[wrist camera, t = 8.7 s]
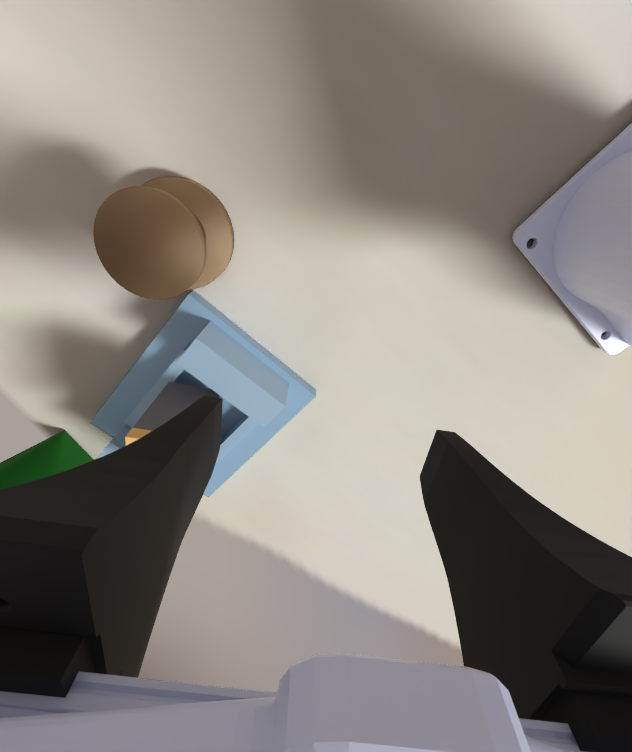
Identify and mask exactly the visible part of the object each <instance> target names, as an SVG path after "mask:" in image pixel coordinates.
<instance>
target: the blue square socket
mask: <svg viewBox="0 0 632 752" xmlns="http://www.w3.org/2000/svg"><path fill="white" fill-rule="evenodd" d="M168 382H174V383H180V384H186V385H192V386H198V387H204V388H210V389H212V390H213V391H214V392H216V393H217V394H219V395H220V396H221V397H222V398H223V404H222V422H221V440H220V450H219V454H218V457H217V460H216V464H215V467H214V470H213V473H212V476H211V478H210V480H209V482H208V485H207V487H206V489H205V491H204V493H203V494H204V495H205V496H207V497H209V496H210V495H211V494H213V493H214V492H215V491H216V490H217V489H218V488H219V487H220V486H221V485H222V484H223V483H224V482H225V481H226V480H227V479H228V478H230V477H231V476H232V475H233V474H234V473H235V472H236V471H237V470H238V469H239V468H240V467H241V466H242V465H243V464H244V463H245V462H247V461H248V460H249V459H250V458H251V457H252V456H253V455H254V454H255V453H256V452H257V451H258V450H259V449H260V448H261V447H262V446H264V445H265V444H266V443H267V442H268V441H269V440H270V439H271V438H272V437H273V436H274V435H275V434H276V433H277V432H278V431H279V430H281V429H282V428H283V427H284V426H285V425H286V424H287V423H288V422H289V421H290V420H291V419H292V418H293V417H294V416H295V415H296V414H298V413H299V412H300V411H301V410H302V409H303V408H304V407H305V406H306V405H307V404H308V403H309V402H310V401H311V400H312V399H313V398H315V397H316V390H315V389H314V388H313V387H312V386H311V385H309V384H308V383H307V382H306V381H304V380H303V379H302V378H301V377H299V376H298V375H297V374H296V373H295V372H293V371H292V370H291V369H290V368H288V367H287V366H286V365H285V364H283V363H282V362H281V361H280V360H279V359H277V358H276V357H275V356H274V355H272V354H271V353H270V352H269V351H267V350H266V349H265V348H264V347H263V346H261V345H260V344H259V343H258V342H256V341H255V340H254V339H253V338H251V337H250V336H249V335H248V334H247V333H245V332H244V331H243V330H242V329H240V328H239V327H238V326H237V325H235V324H234V323H233V322H232V321H231V320H229V319H228V318H227V317H226V316H224V315H223V314H222V313H221V312H219V311H218V310H217V309H216V308H215V307H213V306H212V305H211V304H210V303H208V302H207V301H206V300H205V299H203V298H202V297H201V296H200V295H199V294H197V293H196V292H195V291H194V290H193V291H192V292H191V293H189V294H188V296H187V297H186V298H185V300H184V301H183V302H182V303H181V305H180V306H179V307H178V309H177V310H176V311H175V313H174V314H173V315H172V316H171V318H170V319H169V320H168V322H167V323H166V324H165V326H164V327H163V328H162V329H161V331H160V332H159V333H158V335H157V336H156V337H155V339H154V340H153V341H152V342H151V344H150V345H149V346H148V348H147V349H146V350H145V352H144V353H143V354H142V355H141V357H140V358H139V359H138V361H137V362H136V363H135V365H134V366H133V367H132V368H131V370H130V371H129V372H128V374H127V375H126V376H125V378H124V379H123V380H122V381H121V383H120V384H119V385H118V387H117V388H116V389H115V391H114V392H113V393H112V394H111V396H110V397H109V398H108V400H107V401H106V402H105V403H104V405H103V406H102V407H101V409H100V410H99V411H98V413H97V414H96V415H95V416H94V418H93V419H92V420H91V422H90V423H91V424H93V425H94V426H96V427H98V428H99V429H101V430H102V431H104V432H105V433H107V434H109V435H110V436H112V437H113V440H112V441H111V442H110V443H109V444H108V446H107V447H106V448H105V449H104V451H103V452H102V453H101V454H100V455H99V457H98V458H100V457H103V456H105V455H107V454H110V453H112V452H114V451H116V450H118V449H120V448H122V447H124V446H126V443H125V436H126V435H127V434H128V433H129V431H130V430H131V429H132V428H133V426H134V425H135V424H136V422H137V421H138V420H139V419H140V417H141V416H142V415H143V414H144V412H145V411H146V410H147V409H148V407H149V406H150V405H151V404H152V402H153V401H154V400H155V399H156V397H157V396H158V395H159V394H160V392H161V391H162V390H163V389H164V387H165V386H166V385H167V384H168ZM98 458H97V459H98Z"/></svg>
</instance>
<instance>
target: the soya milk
mask: <svg viewBox="0 0 632 752" xmlns="http://www.w3.org/2000/svg"><path fill="white" fill-rule="evenodd" d="M90 461H93V459H92V458H91V457H90V456H89V455H88V454H87V453H86V452H85V451H84V450H83V449H82V448H81V447H80V446H79V445H78V444H77V442H76V441H75V440H74V439H73V438H72V437H71V436H70V435H69V434H68V433H67V432H66V431H65V430H64V431H62V432H60V433H58V434H56V435H54V436H52V437H50V438H48V439H46V440H45V441H43V442H41V443H39V444H37V445H35V446H33V447H31V448H29V449H27V450H25V451H23V452H21V453H19V454H17V455H15V456H13V457H11V458H9V459H7V460H5V461H3V462H1V463H0V490H1V489H5V488H9V487H13V486H17V485H21V484H25V483H28V482H32V481H35V480H39V479H42V478H45V477H48V476H52V475H55V474H58V473H61V472H64V471H67V470H70V469H72V468H75V467H78V466H80V465H83V464H85V463H88V462H90Z"/></svg>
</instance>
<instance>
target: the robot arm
mask: <svg viewBox="0 0 632 752" xmlns="http://www.w3.org/2000/svg"><path fill="white" fill-rule="evenodd" d="M531 238H533V240H534V242H533V245H532V246H531V247H529V248H527V246H526V245H527V242H528V240H529V239H531ZM513 242H514V244H515V245H516V246H517V247H518V248H519V250H520V251H521V252H522V253H523V255H524V256H525V257H526V258H527V259H528V261H529V262H530V263H531V264H532V265H533V267H534V268H535V269H536V270H537V272H538V273H539V274H540V275H541V276H542V278H543V279H544V280H545V281H546V282H547V284H548V285H549V286H550V287H551V289H552V290H553V291H554V292H555V293H556V295H557V296H558V297H559V298H560V299H561V301H562V302H563V303H564V304H565V305H566V307H567V308H568V309H569V310H570V312H571V313H572V314H573V315H574V316H575V318H576V319H577V320H578V321H579V322H580V324H581V325H582V326H583V327H584V329H585V330H586V331H587V332H588V333H589V335H590V336H591V337H592V338H593V339H594V341H595V342H596V343H597V344H598V346H599V347H600V348H601V349H602V350H603V351H604V352H605V353H607V354H609V355H614V354H617V353H619V352H621V351H622V350H623V349H625V348H626V347H628V346H629V345H631V346H632V123H631V124H630V125H629V126H627V127H626V128H625V129H624V130H623V131H622V132H621V133H620V134H619V135H618V136H617V137H616V138H614V139H613V140H612V141H611V142H610V143H609V144H608V145H607V146H606V147H605V148H604V149H602V150H601V151H600V152H599V153H598V154H597V155H596V156H595V157H594V158H593V159H592V160H590V161H589V162H588V163H587V164H586V165H585V166H584V167H583V168H582V169H581V170H580V171H578V172H577V173H576V174H575V175H574V176H573V177H572V178H571V179H570V180H569V181H568V182H567V183H565V184H564V185H563V186H562V187H561V188H560V189H559V190H558V191H557V192H556V193H555V194H553V195H552V196H551V197H550V198H549V199H548V200H547V201H546V202H545V203H544V204H543V205H541V206H540V207H539V208H538V209H537V210H536V211H535V212H534V213H533V214H532V215H531V216H530V217H528V218H527V219H526V220H525V221H524V222H523V223H522V224H521V225H520V226H519V227H518V228H517V229H516V230H515V231H514V233H513ZM605 331H606V334H605V335H604V336H603V337H601V334H602V333H603V332H605ZM222 404H223V398H216V397H209V396H203V397H202V398H200V399H199V400H197V401H196V402H194V403H193V404H192V405H190V406H189V407H187V408H186V409H185V410H183V411H182V412H180V413H179V414H178V415H176V416H175V417H173V418H172V419H170V420H169V421H167V422H166V423H164V424H163V425H161V426H160V427H158V428H156V429H155V430H153V431H151V432H150V433H148V434H146V435H145V436H143V437H141V438H140V439H138V440H136V441H134V442H132V443H130V444H128V445H126V446H124V447H122V448H120V449H118V450H116V451H114V452H112V453H110V454H107V455H105V456H103V457H100V458H98V459H95V460H93V461H90V462H88V463H85V464H83V465H80V466H78V467H75V468H72V469H70V470H67V471H64V472H61V473H58V474H55V475H52V476H48V477H45V478H42V479H39V480H35V481H32V482H28V483H25V484H21V485H17V486H13V487H9V488H5V489H1V490H0V752H632V557H630V556H628V555H626V554H624V553H622V552H620V551H618V550H616V549H615V548H613V547H611V546H609V545H607V544H606V543H604V542H602V541H600V540H598V539H597V538H595V537H593V536H591V535H590V534H588V533H586V532H585V531H583V530H581V529H580V528H578V527H576V526H575V525H573V524H571V523H570V522H568V521H567V520H565V519H564V518H562V517H561V516H559V515H558V514H556V513H555V512H553V511H552V510H550V509H549V508H547V507H546V506H544V505H543V504H542V503H540V502H539V501H537V500H536V499H535V498H533V497H532V496H531V495H529V494H528V493H527V492H525V491H524V490H523V489H522V488H520V487H519V486H518V485H516V484H515V483H514V482H513V481H511V480H510V479H509V478H508V477H507V476H505V475H504V474H503V473H502V472H501V471H499V470H498V469H497V468H496V467H495V466H494V465H492V464H491V463H490V462H489V461H488V460H487V459H486V458H484V457H483V456H482V455H481V454H480V453H479V452H478V451H476V450H475V449H474V448H473V447H472V446H471V445H470V444H468V443H467V442H466V441H465V440H464V439H463V438H461V437H460V436H459V435H457V434H456V433H455V432H449V431H442V430H437V431H436V433H435V436H434V439H433V442H432V444H431V447H430V450H429V452H428V455H427V458H426V461H425V463H424V466H423V469H422V472H421V474H420V481H421V488H422V494H423V499H424V504H425V508H426V511H427V514H428V517H429V521H430V524H431V527H432V530H433V533H434V536H435V539H436V542H437V545H438V549H439V552H440V555H441V558H442V561H443V564H444V567H445V571H446V575H447V578H448V582H449V587H450V592H451V597H452V601H453V606H454V611H455V616H456V622H457V627H458V633H459V638H460V644H461V650H462V656H463V662H464V666H456V665H447V664H438V663H429V662H420V661H412V660H403V659H394V658H384V657H376V656H367V655H358V654H349V653H326V654H316V655H313V656H310V657H308V658H305V659H303V660H300V661H297V662H296V663H294V664H293V665H292V666H291V667H290V668H289V670H288V671H287V672H286V674H285V675H284V676H283V677H282V679H281V680H280V683H279V687H278V691H277V692H267V691H258V690H248V689H239V688H229V687H219V686H211V685H201V684H192V683H182V682H172V681H164V680H154V679H144V678H138V675H139V672H140V668H141V665H142V662H143V658H144V655H145V652H146V648H147V645H148V642H149V639H150V636H151V632H152V629H153V626H154V622H155V620H156V616H157V613H158V610H159V607H160V604H161V601H162V598H163V594H164V592H165V588H166V586H167V582H168V579H169V576H170V573H171V571H172V567H173V565H174V562H175V559H176V556H177V553H178V550H179V547H180V545H181V542H182V540H183V537H184V535H185V532H186V530H187V528H188V526H189V524H190V522H191V519H192V517H193V515H194V513H195V511H196V509H197V506H198V504H199V502H200V500H201V498H202V496H203V493H204V491H205V489H206V487H207V485H208V482H209V480H210V478H211V476H212V473H213V470H214V467H215V464H216V460H217V457H218V454H219V450H220V440H221V422H222Z"/></svg>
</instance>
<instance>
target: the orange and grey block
mask: <svg viewBox="0 0 632 752" xmlns="http://www.w3.org/2000/svg"><path fill="white" fill-rule="evenodd" d="M203 396H209V397H216V398H222V397H221V396H220V395H219V394H217V393H216V392H214V391H213V390H212V389H210V388H204V387H198V386H192V385H186V384H180V383H174V382H168V384H167V385H166V386H165V387H164V389H163V390H162V391H161V392H160V394H159V395H158V396H157V397H156V399H155V400H154V401H153V402H152V404H151V405H150V406H149V407H148V409H147V410H146V411H145V412H144V414H143V415H142V416H141V417H140V419H139V420H138V421H137V422H136V424H135V425H134V426H133V428H132V429H131V430H130V431H129V433H128V434H127V435H126V436H125V443H126V445H128V444H130V443H132V442H134V441H136V440H138V439H140V438H141V437H143V436H145V435H146V434H148V433H150V432H151V431H153V430H155V429H156V428H158V427H160V426H161V425H163V424H164V423H166V422H167V421H169V420H170V419H172V418H173V417H175V416H176V415H178V414H179V413H180V412H182V411H183V410H185V409H186V408H187V407H189V406H190V405H192V404H193V403H194V402H196V401H197V400H199V399H200V398H202V397H203Z"/></svg>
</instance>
